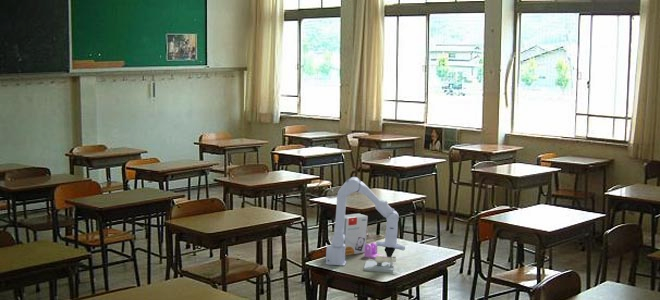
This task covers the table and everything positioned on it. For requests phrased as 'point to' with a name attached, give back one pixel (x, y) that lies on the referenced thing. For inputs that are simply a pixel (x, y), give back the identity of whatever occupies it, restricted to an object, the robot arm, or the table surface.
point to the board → (379, 266)
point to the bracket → (371, 251)
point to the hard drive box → (355, 233)
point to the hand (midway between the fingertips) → (389, 262)
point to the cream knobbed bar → (384, 259)
